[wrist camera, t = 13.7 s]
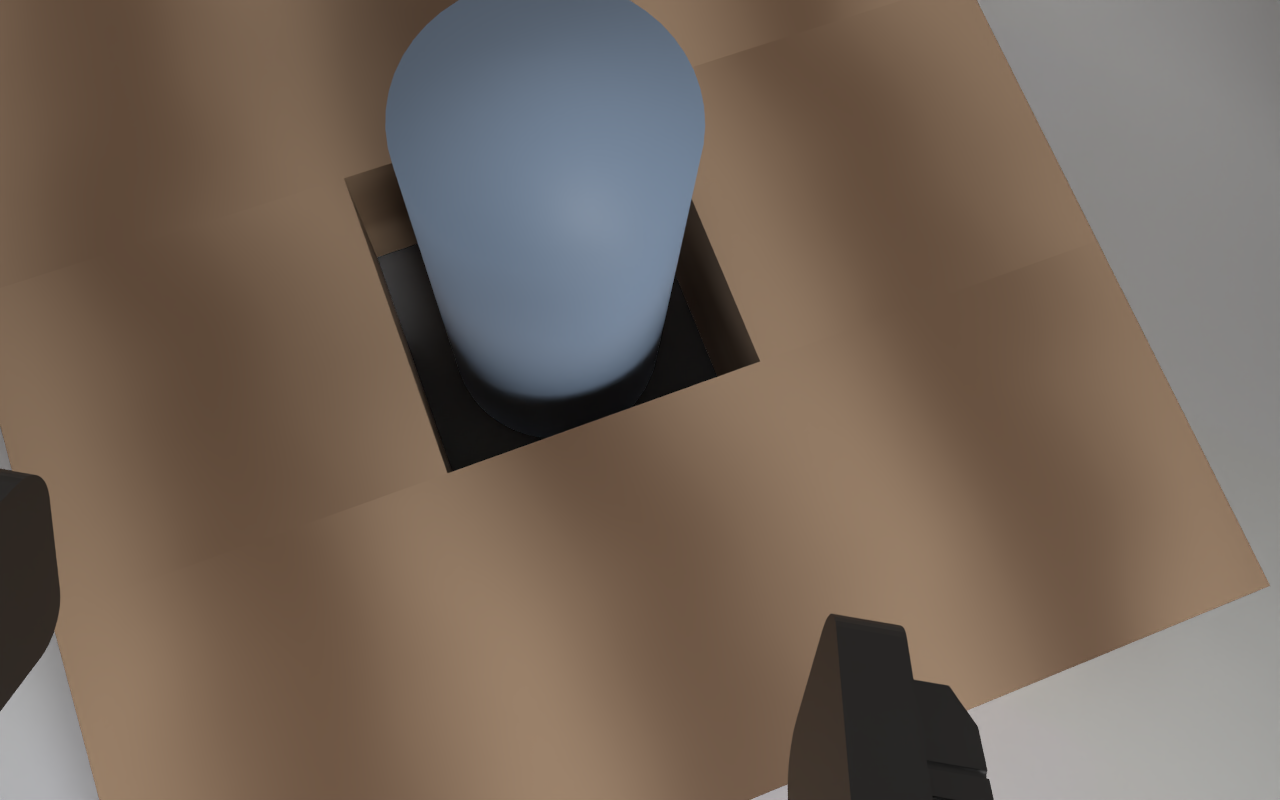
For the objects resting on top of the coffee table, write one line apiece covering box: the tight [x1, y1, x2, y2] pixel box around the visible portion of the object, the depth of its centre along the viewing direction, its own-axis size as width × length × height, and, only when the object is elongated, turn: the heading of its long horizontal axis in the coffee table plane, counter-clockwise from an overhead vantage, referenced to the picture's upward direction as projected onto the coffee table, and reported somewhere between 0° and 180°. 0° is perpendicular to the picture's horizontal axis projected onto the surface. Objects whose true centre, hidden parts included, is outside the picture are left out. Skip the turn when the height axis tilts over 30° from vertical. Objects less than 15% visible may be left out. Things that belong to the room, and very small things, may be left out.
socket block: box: [0, 0, 1270, 800], centre depth 25 cm, size 20×20×4 cm
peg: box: [385, 0, 705, 438], centre depth 22 cm, size 4×4×10 cm
